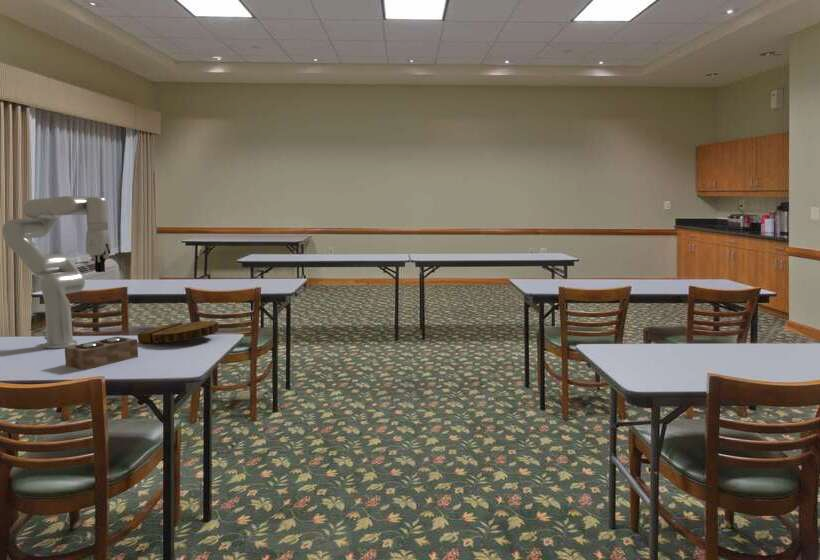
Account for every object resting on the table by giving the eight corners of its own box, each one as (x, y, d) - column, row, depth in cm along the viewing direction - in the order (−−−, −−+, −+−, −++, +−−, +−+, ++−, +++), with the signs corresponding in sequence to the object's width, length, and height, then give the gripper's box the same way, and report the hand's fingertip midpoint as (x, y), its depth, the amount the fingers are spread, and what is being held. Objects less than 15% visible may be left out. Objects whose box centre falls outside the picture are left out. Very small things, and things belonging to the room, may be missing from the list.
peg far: (106, 358, 231) (104, 339, 230) (116, 356, 234) (115, 337, 234) (113, 359, 229) (112, 340, 228) (123, 357, 232) (122, 338, 232)
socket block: (65, 365, 220) (64, 346, 219) (118, 353, 240) (117, 335, 239) (85, 369, 215) (84, 349, 214) (138, 356, 234) (137, 338, 233)
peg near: (81, 364, 222) (80, 344, 221) (92, 361, 226) (91, 342, 225) (89, 365, 220) (87, 346, 219) (99, 363, 224) (98, 343, 223)
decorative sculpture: (134, 349, 254) (196, 345, 247) (132, 335, 253) (194, 330, 247) (175, 335, 283) (231, 331, 277) (173, 322, 282) (229, 317, 276)
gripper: (77, 227, 239) (80, 271, 241) (101, 227, 232) (103, 273, 234) (94, 226, 246) (97, 270, 248) (118, 227, 239) (120, 272, 241)
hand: (100, 271), depth 241 cm, fingers closed
